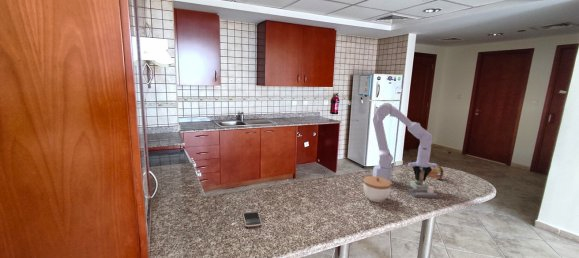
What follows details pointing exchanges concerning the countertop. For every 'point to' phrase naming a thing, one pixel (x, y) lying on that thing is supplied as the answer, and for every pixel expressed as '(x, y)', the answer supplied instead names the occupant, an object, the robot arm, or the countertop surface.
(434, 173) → the tin
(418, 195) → the switch panel
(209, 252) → the countertop surface
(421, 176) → the tan rounded cylinder
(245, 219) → the cell phone
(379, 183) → the lidded bowl
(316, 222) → the countertop surface
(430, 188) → the switch tab
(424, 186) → the holder
